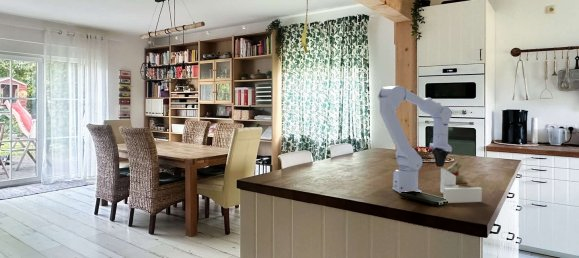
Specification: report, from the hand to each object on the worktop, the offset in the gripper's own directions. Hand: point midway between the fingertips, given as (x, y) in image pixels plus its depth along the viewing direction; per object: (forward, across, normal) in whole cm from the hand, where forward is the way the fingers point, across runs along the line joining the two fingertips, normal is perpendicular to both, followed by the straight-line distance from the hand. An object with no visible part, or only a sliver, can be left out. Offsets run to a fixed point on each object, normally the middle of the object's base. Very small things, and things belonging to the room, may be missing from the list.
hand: (439, 166), depth 159 cm
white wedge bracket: (+10, -8, 0) cm, 13 cm away
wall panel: (+9, -22, +3) cm, 24 cm away
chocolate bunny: (+10, +12, -15) cm, 21 cm away
